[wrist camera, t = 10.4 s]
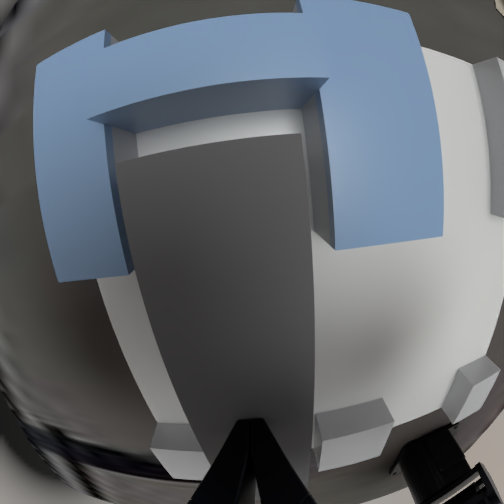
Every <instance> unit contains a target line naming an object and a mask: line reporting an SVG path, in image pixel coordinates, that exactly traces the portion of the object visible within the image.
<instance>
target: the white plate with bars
mask: <svg viewBox="0 0 504 504" xmlns="http://www.w3.org/2000/svg"><path fill="white" fill-rule="evenodd" d="M296 133H301V137H302V145H303V153H304V162H305V171H306V180H307V191H308V202H309V214H310V227H311V241H312V258H313V279H314V310H315V384H314V413H313V432H312V448H313V449H314V454H315V458H316V463H317V467H318V472H319V471H324V470H329V469H333V468H338V467H342V466H346V465H350V464H354V463H357V462H361V461H364V460H368V459H371V458H374V457H377V456H380V454H381V452H382V450H383V448H384V446H385V443H386V441H387V439H388V436H389V434H390V432H391V429H392V427H395V426H397V425H400V424H403V423H406V422H408V421H411V420H413V419H416V418H418V417H421V416H423V415H425V414H428V413H430V412H432V411H435V410H437V409H439V408H442V409H443V411H444V412H445V414H446V415H447V417H448V418H449V420H450V421H451V423H452V424H455V423H457V422H458V421H460V420H462V419H464V418H466V417H467V416H469V415H471V414H472V413H474V412H476V411H477V410H479V409H480V408H481V407H482V405H483V403H484V401H485V399H486V398H487V396H488V394H489V392H490V390H491V388H492V386H493V384H494V382H495V380H496V378H497V376H498V374H499V372H500V369H499V368H498V367H497V366H496V365H495V364H494V363H493V362H492V361H491V360H490V359H489V358H488V357H487V356H486V352H487V349H488V347H489V344H490V341H491V338H492V335H493V332H494V329H495V326H496V323H497V319H498V316H499V312H500V309H501V305H502V301H503V297H504V61H503V60H501V59H499V58H498V57H495V58H492V59H489V60H485V61H482V62H479V63H476V64H473V65H472V64H470V63H468V62H465V61H463V60H460V59H457V58H455V57H452V56H449V55H446V54H443V53H440V52H437V51H434V50H431V49H427V48H424V47H421V46H420V43H419V40H418V37H417V34H416V31H415V28H414V26H413V23H412V20H411V18H410V15H409V13H406V12H402V11H399V10H395V9H391V8H387V7H383V6H379V5H374V4H369V3H364V2H358V1H352V0H296V3H295V6H294V9H293V12H292V13H259V14H245V15H234V16H226V17H218V18H212V19H205V20H200V21H194V22H189V23H184V24H180V25H175V26H171V27H167V28H163V29H160V30H156V31H152V32H149V33H146V34H142V35H139V36H136V37H133V38H130V39H127V40H124V41H121V42H118V41H117V40H116V39H115V38H114V37H113V36H111V35H110V34H109V33H108V32H107V31H106V30H103V31H101V32H98V33H96V34H94V35H91V36H89V37H87V38H85V39H83V40H81V41H79V42H77V43H75V44H73V45H71V46H69V47H67V48H65V49H63V50H61V51H60V52H58V53H56V54H54V55H53V56H51V57H49V58H47V59H46V60H44V61H43V62H41V63H39V64H38V65H37V68H36V77H35V89H34V107H33V139H34V158H35V170H36V180H37V188H38V195H39V202H40V208H41V214H42V219H43V224H44V229H45V234H46V238H47V243H48V247H49V251H50V255H51V258H52V262H53V266H54V269H55V273H56V276H57V279H58V282H68V281H78V280H87V279H97V282H98V285H99V288H100V292H101V295H102V298H103V301H104V304H105V307H106V310H107V313H108V316H109V318H110V321H111V324H112V327H113V329H114V332H115V335H116V337H117V340H118V342H119V345H120V347H121V349H122V352H123V354H124V357H125V359H126V361H127V363H128V366H129V368H130V370H131V372H132V375H133V377H134V379H135V381H136V383H137V385H138V387H139V389H140V391H141V393H142V395H143V397H144V399H145V401H146V403H147V405H148V407H149V409H150V410H151V412H152V414H153V416H154V418H155V419H156V421H157V425H156V428H155V432H154V435H153V438H152V442H151V445H150V449H151V450H152V452H153V453H154V455H155V456H156V457H157V459H158V460H159V461H160V462H161V464H162V465H163V466H164V468H165V469H166V470H167V471H168V473H169V474H170V475H171V476H172V477H173V478H177V479H189V480H203V478H204V477H205V475H206V473H207V472H208V470H209V468H210V467H211V465H210V463H209V461H208V460H207V458H206V456H205V454H204V452H203V450H202V448H201V446H200V444H199V442H198V440H197V438H196V436H195V434H194V432H193V430H192V428H191V426H190V424H189V422H188V420H187V417H186V415H185V413H184V411H183V409H182V406H181V404H180V402H179V399H178V397H177V395H176V392H175V390H174V388H173V385H172V383H171V380H170V378H169V375H168V373H167V370H166V367H165V365H164V362H163V359H162V357H161V354H160V351H159V348H158V345H157V343H156V340H155V337H154V334H153V331H152V328H151V325H150V322H149V318H148V315H147V312H146V309H145V305H144V302H143V298H142V295H141V291H140V288H139V284H138V280H137V276H136V273H135V269H134V265H133V261H132V256H131V252H130V248H129V243H128V238H127V234H126V229H125V224H124V219H123V213H122V208H121V202H120V196H119V189H118V183H117V175H116V168H115V163H119V162H122V161H126V160H130V159H134V158H138V157H142V156H146V155H151V154H155V153H160V152H164V151H169V150H174V149H179V148H184V147H190V146H195V145H201V144H207V143H213V142H220V141H227V140H234V139H242V138H251V137H260V136H270V135H282V134H296Z"/></svg>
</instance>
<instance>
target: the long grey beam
mask: <svg viewBox="0 0 504 504" xmlns="http://www.w3.org/2000/svg"><path fill="white" fill-rule="evenodd" d="M115 168H116V175H117V183H118V189H119V196H120V202H121V208H122V213H123V219H124V224H125V229H126V234H127V238H128V243H129V248H130V252H131V256H132V261H133V265H134V269H135V273H136V276H137V280H138V284H139V288H140V291H141V295H142V298H143V302H144V305H145V309H146V312H147V315H148V318H149V322H150V325H151V328H152V331H153V334H154V337H155V340H156V343H157V345H158V348H159V351H160V354H161V357H162V359H163V362H164V365H165V367H166V370H167V373H168V375H169V378H170V380H171V383H172V385H173V388H174V390H175V392H176V395H177V397H178V399H179V402H180V404H181V406H182V409H183V411H184V413H185V415H186V417H187V420H188V422H189V424H190V426H191V428H192V430H193V432H194V434H195V436H196V438H197V440H198V442H199V444H200V446H201V448H202V450H203V452H204V454H205V456H206V458H207V460H208V461H209V463H210V465H212V463H213V462H214V460H215V458H216V456H217V455H218V453H219V451H220V450H221V448H222V446H223V444H224V442H225V441H226V439H227V437H228V435H229V434H230V432H231V430H232V428H233V426H234V425H235V423H236V421H237V420H239V419H250V420H251V419H252V418H264V420H265V421H266V423H267V425H268V426H269V428H270V430H271V432H272V433H273V435H274V437H275V438H276V440H277V442H278V444H279V445H280V447H281V448H282V450H283V452H284V453H285V455H286V457H287V458H288V460H289V462H290V463H291V465H292V466H293V468H294V469H295V471H296V473H297V474H298V476H299V477H300V479H301V480H302V482H303V483H304V485H305V486H306V488H307V489H308V482H309V472H310V461H311V448H312V432H313V413H314V384H315V310H314V279H313V258H312V241H311V227H310V214H309V202H308V191H307V180H306V171H305V162H304V153H303V145H302V137H301V133H296V134H282V135H270V136H260V137H251V138H242V139H234V140H227V141H220V142H213V143H207V144H201V145H195V146H190V147H184V148H179V149H174V150H169V151H164V152H160V153H155V154H151V155H146V156H142V157H138V158H134V159H130V160H126V161H122V162H119V163H115ZM258 500H260V496H259V491H258V487H257V482H256V492H255V501H258Z"/></svg>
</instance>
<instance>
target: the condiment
mask: <svg viewBox="0 0 504 504" xmlns="http://www.w3.org/2000/svg"><path fill="white" fill-rule="evenodd" d="M495 3H496V9H497V10H498V11H499V12H500V13H501V14H502V15H503V16H504V0H495Z"/></svg>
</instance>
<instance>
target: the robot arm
mask: <svg viewBox="0 0 504 504" xmlns="http://www.w3.org/2000/svg"><path fill="white" fill-rule="evenodd" d="M458 426H459V423H458V422H457V423H455V424H451V425H449V426H447V427H445V428H443V429H441V430H439V431H437V432H435V433H432V434H430V435H428V436H426V437H424V438H421V439H419V440H417V441H414V442H412V443H410V444H408V445H406V446H405V447H404V448H403V450H402V452H401V453H400V455H399V457H398V459H397V460H396V462H395V464H394V465H393V467H392V469H391V470H390V472H389V474H390V476H392V475H395V474H398V473H400V472H402V473H403V475H404V478H405V480H406V482H407V485H408V487H409V490H410V492H411V494H412V497H413V499H414V502H415V504H439V503H440V502H442V501H444V500H445V499H447V498H448V497H450V496H451V495H453V494H454V493H456V492H457V491H459V490H460V489H461V488H463V487H464V486H466V485H467V484H468V483H469V482H471V481H472V480H474V479H475V478H476V477H477V476H479V475H480V477H481V478H480V479H479V480H478V481H476V482H473V483H472V484H471V485H470V486H468V487H467V488H465V489H464V490H463V491H461V492H460V493H458V494H457V495H455V496H454V497H452V498H451V499H449V500H448V501H446V502H445V503H443V504H503V502H502V499H501V497H500V495H499V492H498V490H497V488H496V486H495V484H494V482H493V480H492V478H491V476H490V475H489V473H488V471H487V470H486V468H485V466H484V465H483V464H482V463H480V462H479V463H478V464H476V465H475V467H474V468H473V469H471V468H470V466H469V464H468V463H467V461H466V459H465V455H464V453H463V452H462V450H461V448H460V447H459V445H458V443H457V442H456V440H455V439H454V437H453V434H454V433H455V431H456V430H457V428H458ZM256 482H257V487H258V491H259V496H260V500H261V504H317V502H316V501H315V500H314V498H313V497H312V495H311V494H310V492H309V491H308V489H307V488H306V486H305V485H304V483H303V482H302V480H301V479H300V477H299V476H298V474H297V473H296V471H295V469H294V468H293V466H292V465H291V463H290V462H289V460H288V458H287V457H286V455H285V453H284V452H283V450H282V448H281V447H280V445H279V444H278V442H277V440H276V438H275V437H274V435H273V433H272V432H271V430H270V428H269V426H268V425H267V423H266V421H265V420H264V418H252V419H251V420H250V419H239V420H237V421H236V423H235V425H234V426H233V428H232V430H231V432H230V434H229V435H228V437H227V439H226V441H225V442H224V444H223V446H222V448H221V450H220V451H219V453H218V455H217V456H216V458H215V460H214V462H213V463H212V465H211V467H210V468H209V470H208V472H207V473H206V475H205V477H204V478H203V480H202V481H201V483H200V485H199V486H198V488H197V489H196V491H195V493H194V494H193V496H192V497H191V499H192V500H189V502H188V503H187V504H255V492H256ZM484 485H485V486H484ZM483 486H484V487H483ZM480 488H481V489H480Z"/></svg>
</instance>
